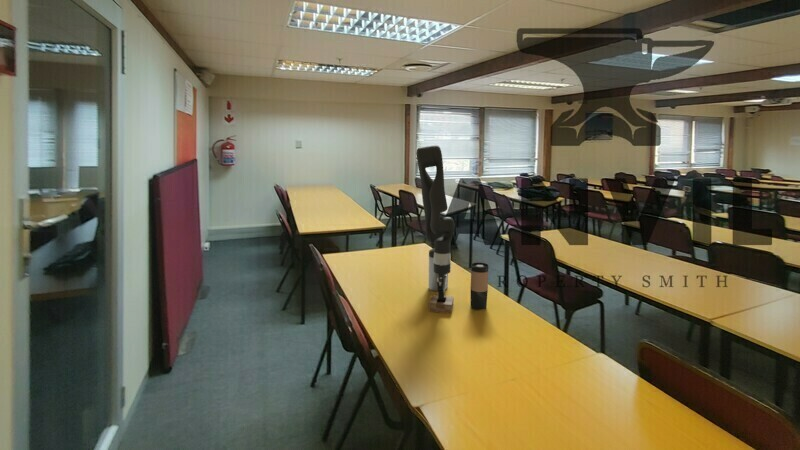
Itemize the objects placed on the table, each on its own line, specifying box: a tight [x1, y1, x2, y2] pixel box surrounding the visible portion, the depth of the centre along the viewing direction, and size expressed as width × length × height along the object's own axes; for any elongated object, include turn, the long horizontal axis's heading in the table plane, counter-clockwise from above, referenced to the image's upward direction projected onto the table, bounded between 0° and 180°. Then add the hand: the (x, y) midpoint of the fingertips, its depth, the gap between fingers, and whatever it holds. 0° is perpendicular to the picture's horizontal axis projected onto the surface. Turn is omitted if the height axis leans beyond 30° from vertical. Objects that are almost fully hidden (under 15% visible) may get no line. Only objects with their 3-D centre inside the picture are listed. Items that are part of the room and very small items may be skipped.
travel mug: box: [470, 262, 489, 311], centre depth 186 cm, size 8×8×20 cm
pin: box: [437, 287, 446, 302], centre depth 185 cm, size 3×3×10 cm
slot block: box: [428, 294, 455, 314], centre depth 186 cm, size 10×10×4 cm
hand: (441, 298), depth 186 cm, fingers closed on pin, 2 cm apart
